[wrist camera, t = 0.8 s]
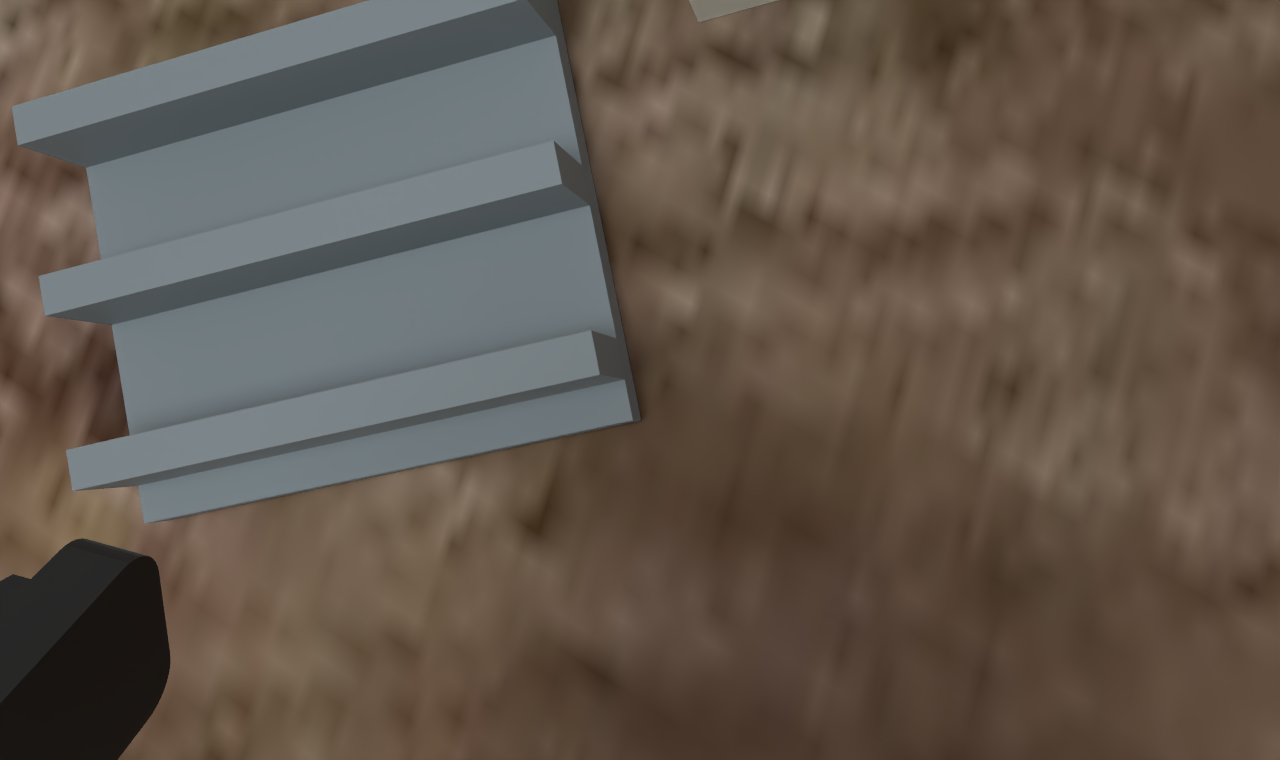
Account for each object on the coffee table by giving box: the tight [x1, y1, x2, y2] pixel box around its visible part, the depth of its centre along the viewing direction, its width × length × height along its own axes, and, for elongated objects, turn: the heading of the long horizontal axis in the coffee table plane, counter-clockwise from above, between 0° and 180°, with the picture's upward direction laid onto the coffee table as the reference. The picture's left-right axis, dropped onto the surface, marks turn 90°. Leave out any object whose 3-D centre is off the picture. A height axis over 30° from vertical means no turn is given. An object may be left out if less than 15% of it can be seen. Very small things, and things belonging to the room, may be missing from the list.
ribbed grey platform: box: [12, 0, 641, 523], centre depth 34 cm, size 16×14×4 cm
